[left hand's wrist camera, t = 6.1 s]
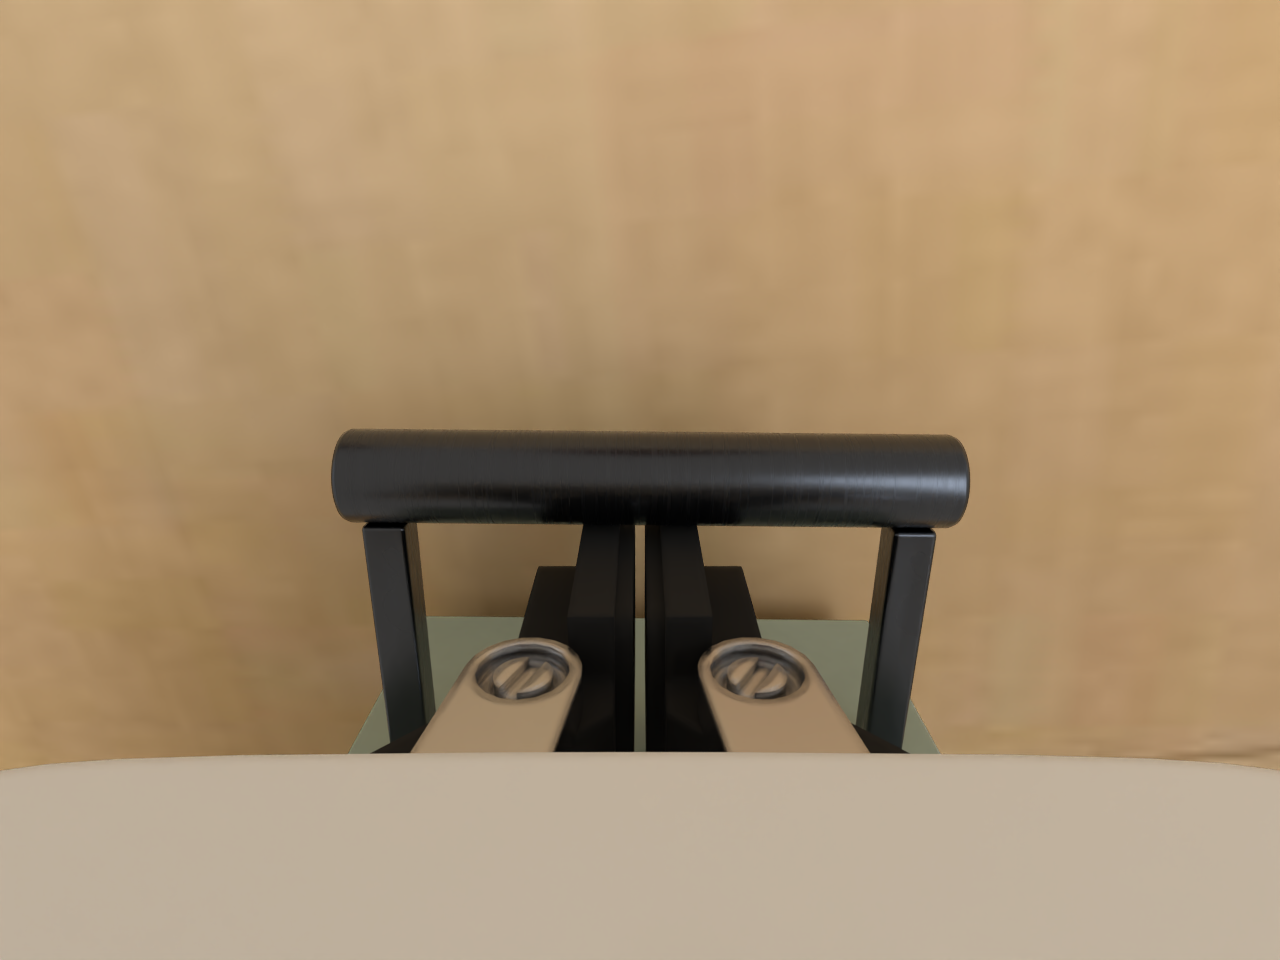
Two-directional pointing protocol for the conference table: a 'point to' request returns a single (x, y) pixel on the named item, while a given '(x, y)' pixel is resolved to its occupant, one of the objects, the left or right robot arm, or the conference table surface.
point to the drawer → (651, 495)
